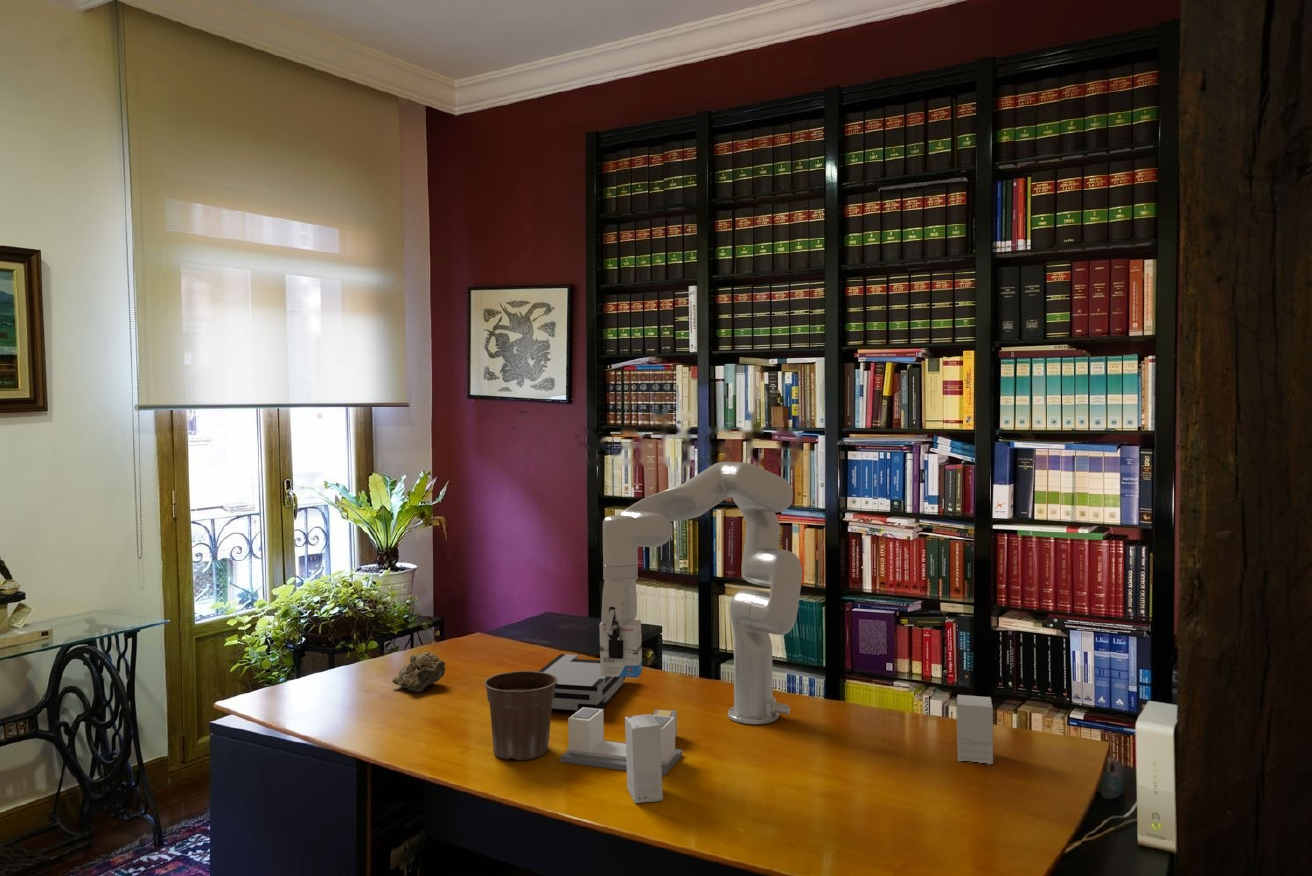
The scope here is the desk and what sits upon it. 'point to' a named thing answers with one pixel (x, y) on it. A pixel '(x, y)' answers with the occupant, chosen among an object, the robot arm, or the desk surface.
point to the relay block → (670, 714)
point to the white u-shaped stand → (611, 742)
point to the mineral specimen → (420, 672)
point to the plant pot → (520, 713)
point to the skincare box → (643, 758)
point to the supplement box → (975, 729)
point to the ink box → (631, 652)
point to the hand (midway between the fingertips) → (621, 653)
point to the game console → (581, 683)
